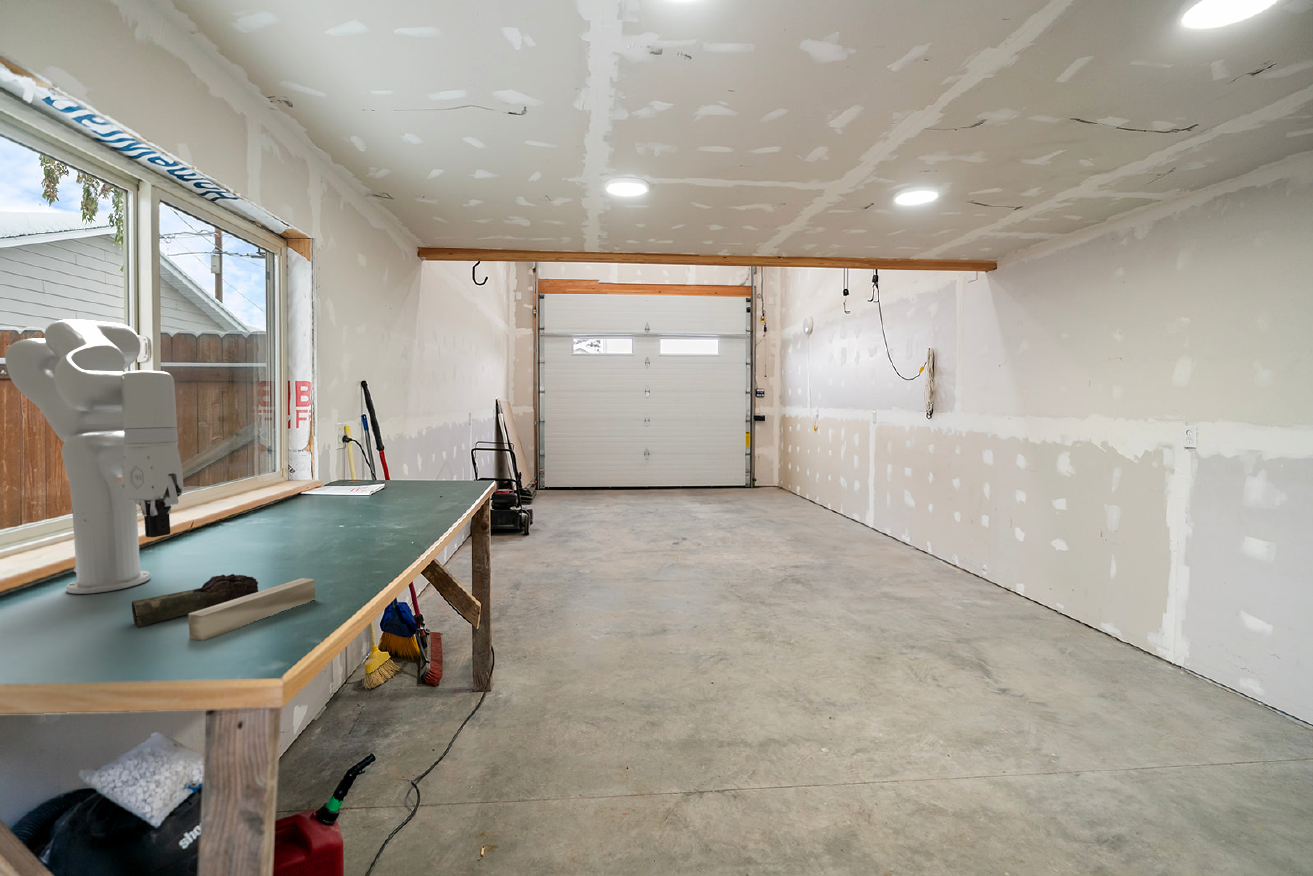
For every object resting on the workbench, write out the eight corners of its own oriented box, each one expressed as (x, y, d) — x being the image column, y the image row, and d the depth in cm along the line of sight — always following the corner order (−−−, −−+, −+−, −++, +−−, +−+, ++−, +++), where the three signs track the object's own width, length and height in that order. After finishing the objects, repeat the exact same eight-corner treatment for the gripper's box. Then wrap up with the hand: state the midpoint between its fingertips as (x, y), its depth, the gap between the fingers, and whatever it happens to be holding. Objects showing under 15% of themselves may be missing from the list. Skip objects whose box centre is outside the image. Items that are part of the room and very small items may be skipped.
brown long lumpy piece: (136, 631, 96) (134, 597, 96) (131, 621, 101) (128, 589, 100) (262, 603, 109) (260, 573, 109) (252, 595, 114) (250, 567, 113)
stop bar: (189, 638, 92) (188, 613, 92) (303, 598, 111) (303, 577, 111) (202, 641, 91) (201, 616, 91) (315, 600, 110) (314, 579, 110)
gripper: (101, 439, 107) (108, 538, 108) (154, 438, 102) (161, 542, 103) (149, 437, 114) (155, 529, 115) (200, 436, 109) (206, 533, 110)
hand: (158, 535), depth 109 cm, fingers closed
